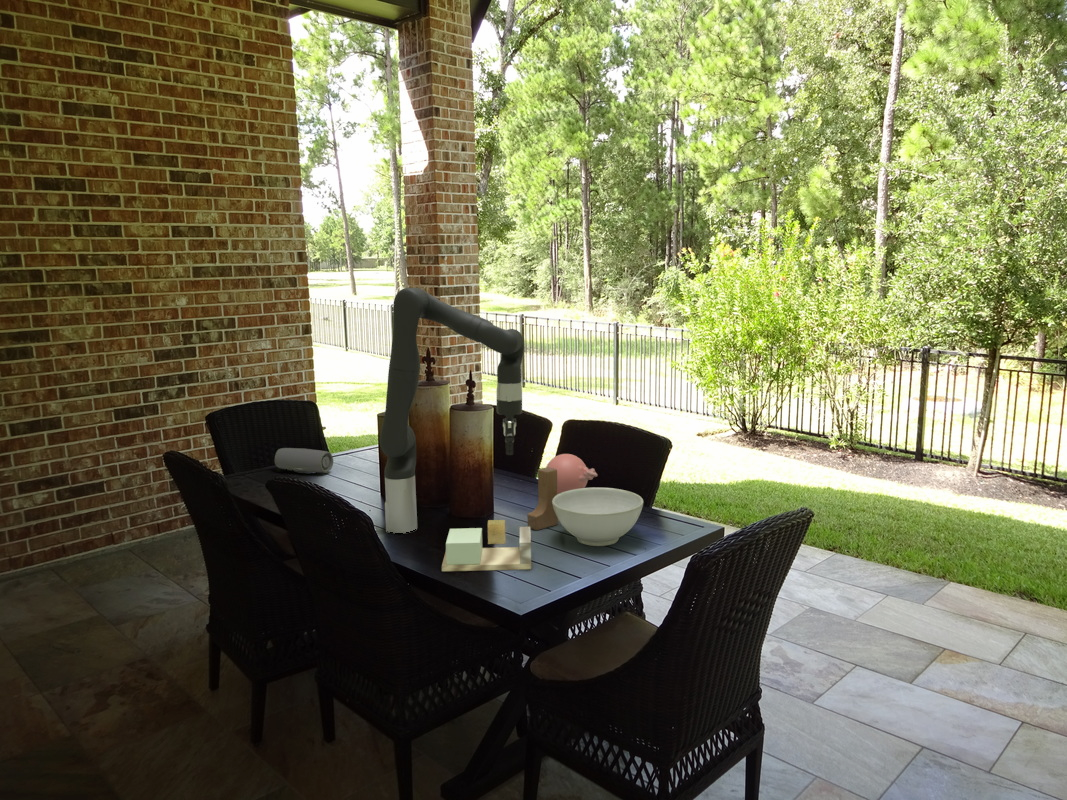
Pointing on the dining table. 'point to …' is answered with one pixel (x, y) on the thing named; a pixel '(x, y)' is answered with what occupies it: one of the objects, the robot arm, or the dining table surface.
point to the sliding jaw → (464, 546)
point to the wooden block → (544, 500)
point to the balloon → (571, 472)
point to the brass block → (496, 531)
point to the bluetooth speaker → (303, 460)
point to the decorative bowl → (597, 513)
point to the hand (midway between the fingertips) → (509, 451)
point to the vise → (500, 557)
